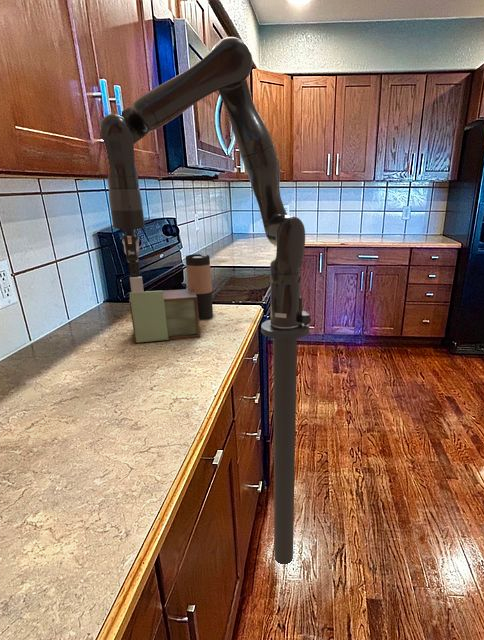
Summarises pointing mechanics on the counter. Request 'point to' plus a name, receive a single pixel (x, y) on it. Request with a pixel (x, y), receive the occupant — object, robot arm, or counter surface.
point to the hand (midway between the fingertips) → (135, 273)
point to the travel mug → (200, 283)
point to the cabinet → (179, 314)
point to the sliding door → (147, 312)
